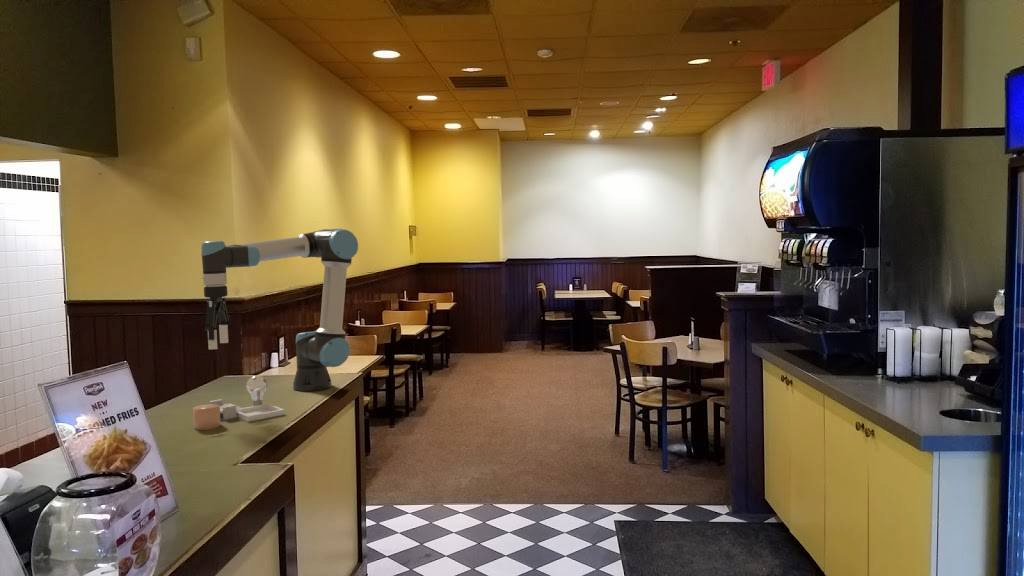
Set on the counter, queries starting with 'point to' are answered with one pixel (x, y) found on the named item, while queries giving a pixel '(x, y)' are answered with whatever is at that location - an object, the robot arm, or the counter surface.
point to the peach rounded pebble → (206, 417)
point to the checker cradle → (226, 411)
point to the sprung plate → (228, 405)
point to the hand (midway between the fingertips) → (218, 346)
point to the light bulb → (256, 389)
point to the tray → (260, 412)
